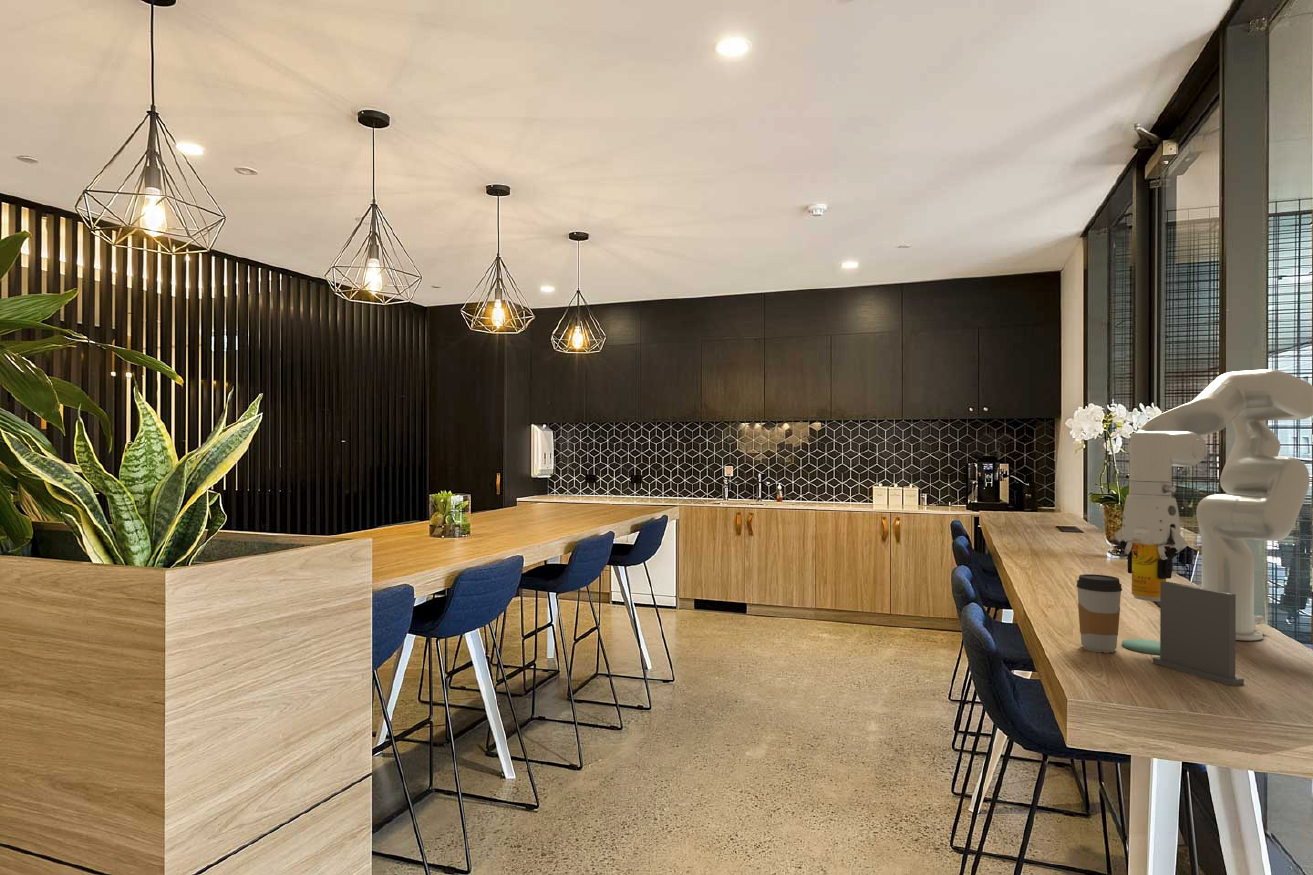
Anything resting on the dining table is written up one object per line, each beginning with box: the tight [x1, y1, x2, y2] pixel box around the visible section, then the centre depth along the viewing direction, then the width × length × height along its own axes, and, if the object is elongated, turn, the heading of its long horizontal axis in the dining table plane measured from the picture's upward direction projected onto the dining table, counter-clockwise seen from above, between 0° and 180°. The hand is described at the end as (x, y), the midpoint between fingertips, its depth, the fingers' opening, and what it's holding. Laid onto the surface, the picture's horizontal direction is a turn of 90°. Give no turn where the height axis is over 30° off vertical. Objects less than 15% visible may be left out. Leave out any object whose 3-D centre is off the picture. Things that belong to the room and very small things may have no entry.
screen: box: [1152, 581, 1245, 687], centre depth 144 cm, size 3×15×16 cm, turn 19°
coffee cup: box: [1076, 573, 1123, 654], centre depth 161 cm, size 8×8×15 cm
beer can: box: [1131, 527, 1167, 602], centre depth 161 cm, size 6×6×15 cm
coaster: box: [1121, 638, 1160, 656], centre depth 161 cm, size 10×10×1 cm
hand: (1149, 574), depth 161 cm, fingers closed on beer can, 6 cm apart
